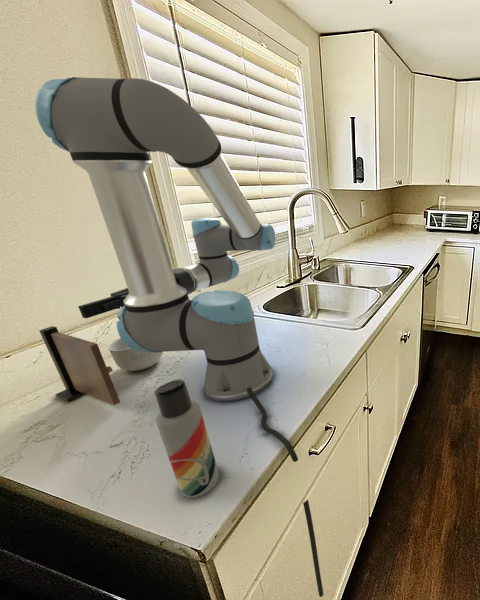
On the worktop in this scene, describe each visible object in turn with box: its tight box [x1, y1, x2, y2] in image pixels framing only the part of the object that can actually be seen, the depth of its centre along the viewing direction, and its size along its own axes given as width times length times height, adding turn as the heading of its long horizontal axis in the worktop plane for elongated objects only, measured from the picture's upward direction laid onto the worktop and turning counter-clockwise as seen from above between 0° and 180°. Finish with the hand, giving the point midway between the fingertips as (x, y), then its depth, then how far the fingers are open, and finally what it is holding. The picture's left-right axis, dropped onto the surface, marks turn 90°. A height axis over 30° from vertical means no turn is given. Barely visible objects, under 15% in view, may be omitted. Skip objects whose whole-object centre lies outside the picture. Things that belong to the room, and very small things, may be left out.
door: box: [51, 331, 121, 406], centre depth 73 cm, size 15×2×15 cm, turn 68°
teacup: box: [107, 337, 163, 372], centre depth 90 cm, size 14×11×8 cm
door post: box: [38, 325, 85, 403], centre depth 76 cm, size 5×6×17 cm
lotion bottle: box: [154, 379, 220, 499], centre depth 51 cm, size 6×6×20 cm
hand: (82, 312), depth 71 cm, fingers closed
